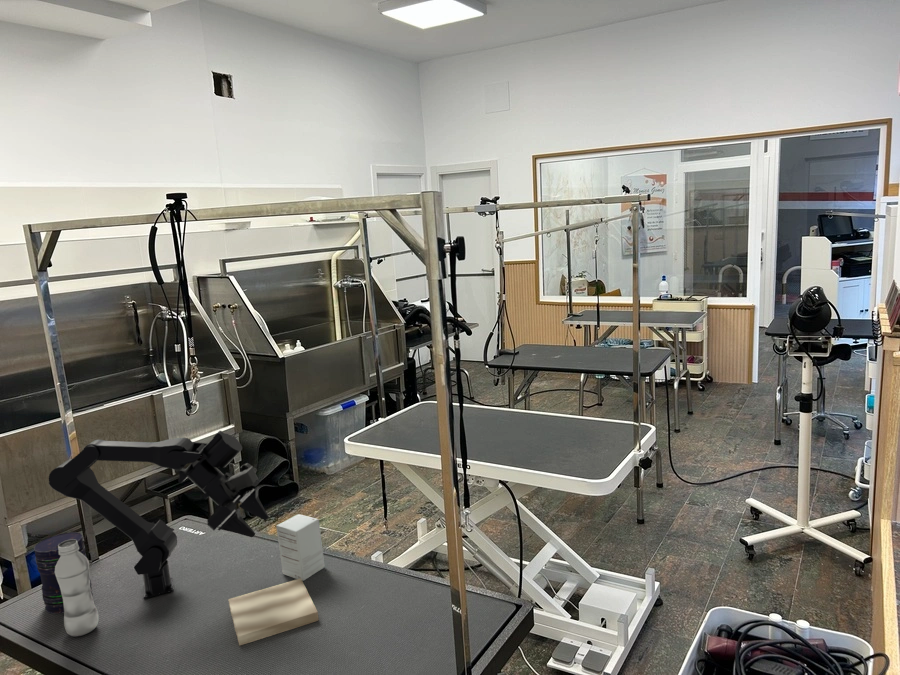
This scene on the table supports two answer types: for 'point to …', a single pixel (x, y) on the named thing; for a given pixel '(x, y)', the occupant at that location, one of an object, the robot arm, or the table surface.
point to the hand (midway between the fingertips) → (260, 527)
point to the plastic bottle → (75, 589)
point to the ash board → (272, 611)
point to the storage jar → (53, 569)
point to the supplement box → (300, 546)
